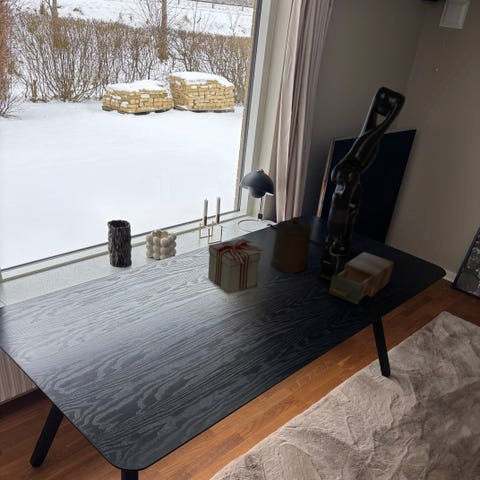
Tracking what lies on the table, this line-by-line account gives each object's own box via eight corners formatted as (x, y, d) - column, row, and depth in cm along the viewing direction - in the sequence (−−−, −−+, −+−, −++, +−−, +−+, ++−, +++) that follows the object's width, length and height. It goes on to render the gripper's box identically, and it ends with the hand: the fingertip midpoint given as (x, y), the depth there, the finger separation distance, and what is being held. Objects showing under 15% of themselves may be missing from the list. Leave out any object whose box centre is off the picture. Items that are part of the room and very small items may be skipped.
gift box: (234, 298, 185) (237, 257, 176) (205, 279, 196) (206, 240, 187) (266, 286, 195) (270, 247, 186) (236, 269, 206) (239, 231, 197)
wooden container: (311, 264, 215) (318, 217, 204) (296, 276, 204) (303, 227, 193) (281, 255, 222) (287, 209, 210) (265, 266, 211) (270, 218, 199)
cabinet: (371, 296, 193) (376, 275, 188) (341, 285, 200) (345, 263, 195) (388, 282, 205) (394, 262, 199) (359, 272, 211) (363, 251, 206)
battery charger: (316, 278, 204) (320, 253, 198) (321, 275, 207) (325, 250, 201) (330, 283, 200) (335, 258, 194) (335, 281, 203) (340, 256, 197)
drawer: (350, 310, 181) (354, 292, 177) (321, 298, 187) (324, 280, 183) (375, 290, 196) (379, 273, 191) (347, 280, 202) (350, 263, 198)
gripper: (338, 226, 182) (331, 264, 191) (354, 217, 192) (347, 254, 201) (320, 220, 186) (314, 259, 195) (338, 212, 196) (331, 249, 204)
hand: (331, 256), depth 198 cm, fingers open, 8 cm apart
